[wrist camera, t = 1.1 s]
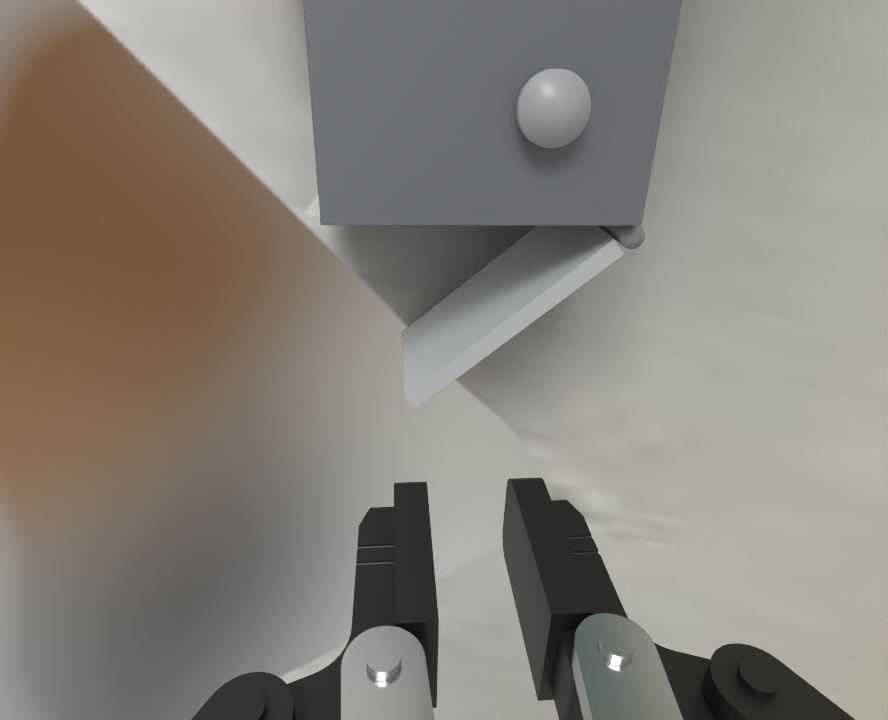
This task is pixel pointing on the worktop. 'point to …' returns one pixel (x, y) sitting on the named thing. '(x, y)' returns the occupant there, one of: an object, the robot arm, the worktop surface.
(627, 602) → the worktop surface
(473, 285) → the side door
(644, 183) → the grey knobbed box
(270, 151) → the worktop surface
